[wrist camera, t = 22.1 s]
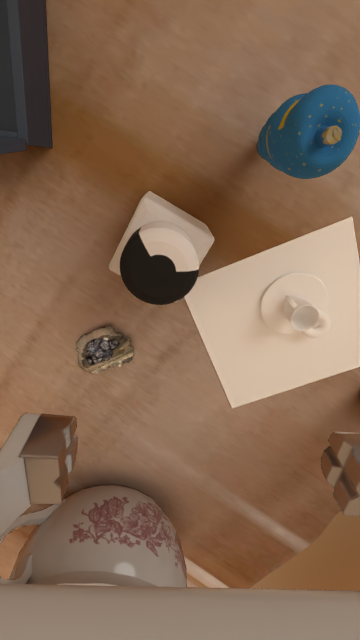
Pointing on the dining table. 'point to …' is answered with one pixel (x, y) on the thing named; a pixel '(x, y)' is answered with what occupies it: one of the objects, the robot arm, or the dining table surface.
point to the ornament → (311, 132)
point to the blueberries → (103, 350)
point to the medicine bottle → (161, 251)
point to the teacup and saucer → (282, 314)
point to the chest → (24, 72)
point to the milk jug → (100, 542)
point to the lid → (11, 144)
